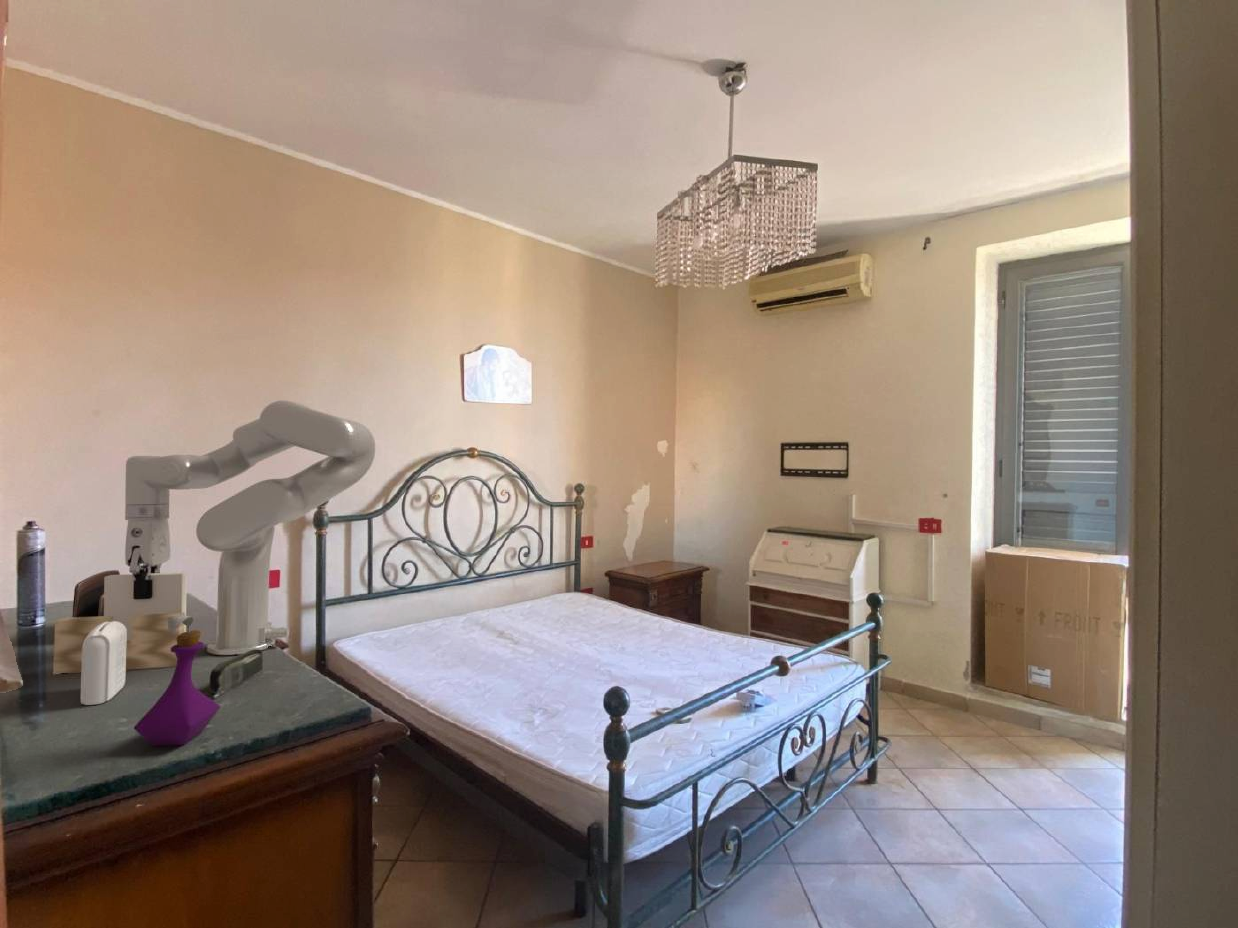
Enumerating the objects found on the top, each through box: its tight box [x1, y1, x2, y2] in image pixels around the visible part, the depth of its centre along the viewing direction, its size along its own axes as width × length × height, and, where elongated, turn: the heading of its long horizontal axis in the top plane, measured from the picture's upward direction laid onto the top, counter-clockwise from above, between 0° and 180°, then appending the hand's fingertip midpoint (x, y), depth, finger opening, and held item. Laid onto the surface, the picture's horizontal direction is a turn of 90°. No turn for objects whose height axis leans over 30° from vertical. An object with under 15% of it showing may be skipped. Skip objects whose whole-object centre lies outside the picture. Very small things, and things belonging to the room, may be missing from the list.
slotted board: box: [52, 613, 185, 675], centre depth 116 cm, size 20×2×10 cm, turn 107°
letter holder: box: [71, 569, 121, 618], centre depth 142 cm, size 10×20×14 cm, turn 19°
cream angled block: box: [104, 571, 188, 641], centre depth 128 cm, size 14×2×15 cm, turn 107°
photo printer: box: [80, 621, 127, 706], centre depth 102 cm, size 10×4×12 cm, turn 26°
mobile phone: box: [209, 649, 264, 700], centre depth 108 cm, size 5×3×15 cm
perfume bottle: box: [133, 615, 221, 747], centre depth 86 cm, size 8×8×18 cm
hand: (146, 596), depth 129 cm, fingers closed on cream angled block, 2 cm apart
